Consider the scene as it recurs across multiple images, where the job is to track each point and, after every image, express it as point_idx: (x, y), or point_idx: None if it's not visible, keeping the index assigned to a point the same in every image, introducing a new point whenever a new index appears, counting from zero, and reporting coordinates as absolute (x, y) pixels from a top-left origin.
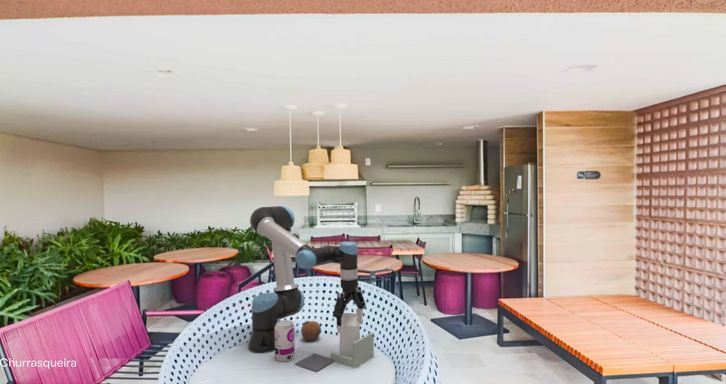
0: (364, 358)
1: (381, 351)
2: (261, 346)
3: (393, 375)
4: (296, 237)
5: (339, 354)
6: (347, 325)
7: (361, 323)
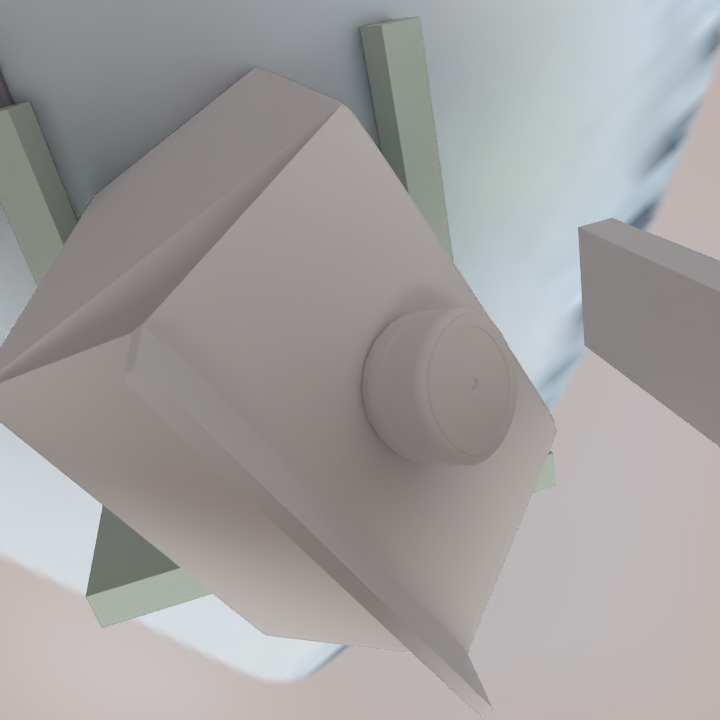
0: None
1: (577, 312)
2: None
3: (300, 670)
4: None
5: (58, 237)
6: (133, 527)
7: (593, 350)
